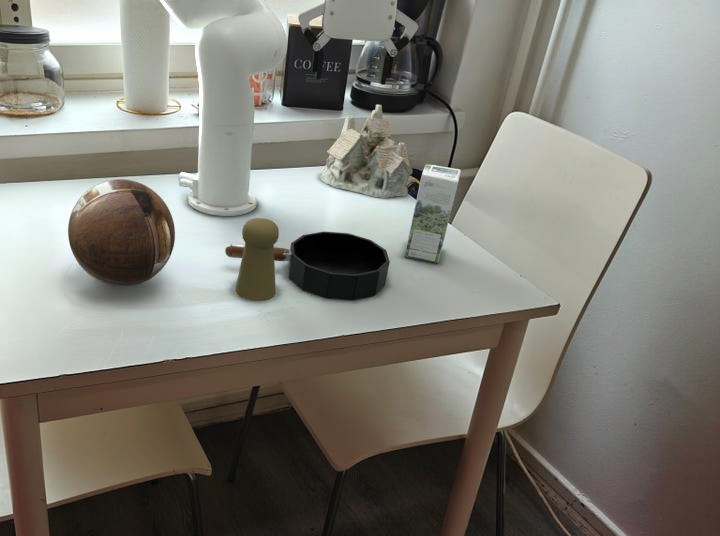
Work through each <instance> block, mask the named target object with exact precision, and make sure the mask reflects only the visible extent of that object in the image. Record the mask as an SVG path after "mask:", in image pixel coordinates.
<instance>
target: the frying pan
mask: <svg viewBox="0 0 720 536" xmlns="http://www.w3.org/2000/svg"><path fill="white" fill-rule="evenodd" d="M244 246H245V244H234V243H233V244H232V243H231V244H228V245H227V246H225V249H224V253H225V255H226V256H227V257H228V258H231V259H232V258H233V259H242V256H243V251H244ZM289 247H290V248H285V247H275V246H274V262H288V263H287V265H288V266H287V271H288V272H287V273H288V279H289V280H290V281H291V282H292V283H293V284H294V285H296V286H297V287H298V288H299V289H300V290H302V291H304V292H305V293H310V294H312V295H316V296H318V297H322V298H324V299H331V300H343V301H356V300H362V299H365V298H370V297H375V296H376V295H377V294H378V293H379V292H380V291H381V290H382V289H383V288H384V287H385V286H386V283H387V278H388V273H389V268H390V264H391V261H390V258H389V254H388V252H387V250H386V249H385V248H383V246H380V244H378V243H376V242H375V241H373V240H371V239H369V238H366V237H362V236H358V235H355V234H353V233H350V232H349V233H348V232H339V231H338V232H335V231H318V232H317V231H316V232H312V233H306V234H302V235H301V236H299V237H297V238H296V239H295V240H293V241H292V242H291V243H290V246H289Z"/></svg>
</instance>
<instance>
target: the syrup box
mask: <svg viewBox="0 0 720 536" xmlns="http://www.w3.org/2000/svg"><path fill="white" fill-rule="evenodd" d="M461 172H462V171H461V169H459V168H453V167H447V166H440V165H434V164H429V163H426V164H425V165H424V167H423V170H422V173H421V177H420V181H419V185H418V191H417V195H416V200H415V205H414V209H413V214H412V219H411V223H410V228H409V232H408V233H409V234H408V237H407V242H406V247H405V252H404V257H405V258H409V259H415V260H419V261H423V262H428V263H429V262H430V263H433V264H439V262H440V257H441V254H442V250H443V246H444V242H445V238H446V234H447V230H448V225H449V221H450V217H451V213H452V209H453V205H454V202H455V198H456V193H457V189H458V186H459V181H460V177H461Z"/></svg>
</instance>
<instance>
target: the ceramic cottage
mask: <svg viewBox="0 0 720 536" xmlns="http://www.w3.org/2000/svg"><path fill="white" fill-rule="evenodd" d="M382 106H383V105H382V104H375V109H373V110H372V112H371V115H370V117H366V120H365V122H364V123H363V125H362V128H361V130H359V131H360V132H358V131H356V130H355V127H356V124H355V123H356V121H355V120H356V118H355V116H353V115H346V116H345V119H344V123H343V126H342V129H341V132H340V135H339V136H338V138H337V139H336V141H334V143H333V145H332V146H330V148H329V149H328V150H327V151H326V152H327V153H328V155H329V156H328V157H327V158H326V164H325V165H324V167H323V169H321V174H320V176H319V179H320V180H321V181H322V182H323V183H324V184H325V185H328V186H329V185H330V186H331V187H333V188H336V189H341V190H345V191H349V192H354V193H359V194H363V195H366V196H369V197H375V198H382V199H388V198H394V197H406V196H408V194H409V189H408V182H409V179H410V176H411V175H412V174H413V168H412V167H411V163H410V161H409V156H408V151H407V147H406V146H407V145H406V143H405V142H403V141H401V142H399V143H398V144H397V143H396V141H394V140H392V139H391V137H392V134H391V127H390V123H389V118H388V117H383V107H382Z"/></svg>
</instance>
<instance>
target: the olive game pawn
mask: <svg viewBox="0 0 720 536" xmlns="http://www.w3.org/2000/svg"><path fill="white" fill-rule="evenodd" d="M279 236H280V230H279V226H278V224H277V223H276V222H275V221H273V220H272V219H269V218H265V217H252V218H250V219H248V220H247V221H245V223H244V224H243V226H242V229H241V237H242V240H243V241H244V245H245V246H244V251H243V256H242V258H241V261H240V266H239V271H238V275H237V279H236V284H235V289H234V291H235V293H236V294H237V295H238V296H239V297H241V298H242V299H246V300H248V301H256V302H260V301H267V300H270V299H272V298H273V297H275V295H276V294H277V293H276V291H277V289H276V265H275V261H274V247H275V245H276V243H277V242H278V240H279Z"/></svg>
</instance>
